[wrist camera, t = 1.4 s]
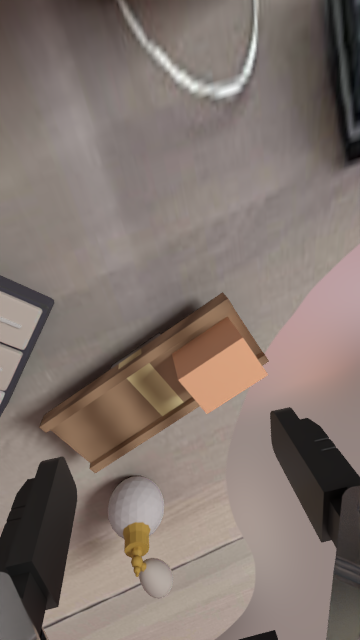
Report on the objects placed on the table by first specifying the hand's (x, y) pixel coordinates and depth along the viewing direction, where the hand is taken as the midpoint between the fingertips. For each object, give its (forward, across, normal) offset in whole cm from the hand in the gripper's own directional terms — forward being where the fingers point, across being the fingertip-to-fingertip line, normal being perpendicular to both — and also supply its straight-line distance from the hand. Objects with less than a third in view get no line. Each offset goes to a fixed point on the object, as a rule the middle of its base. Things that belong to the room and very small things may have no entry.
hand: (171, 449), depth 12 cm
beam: (+24, +2, +11) cm, 27 cm away
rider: (+20, -5, +8) cm, 22 cm away
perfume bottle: (+24, +7, +30) cm, 39 cm away
